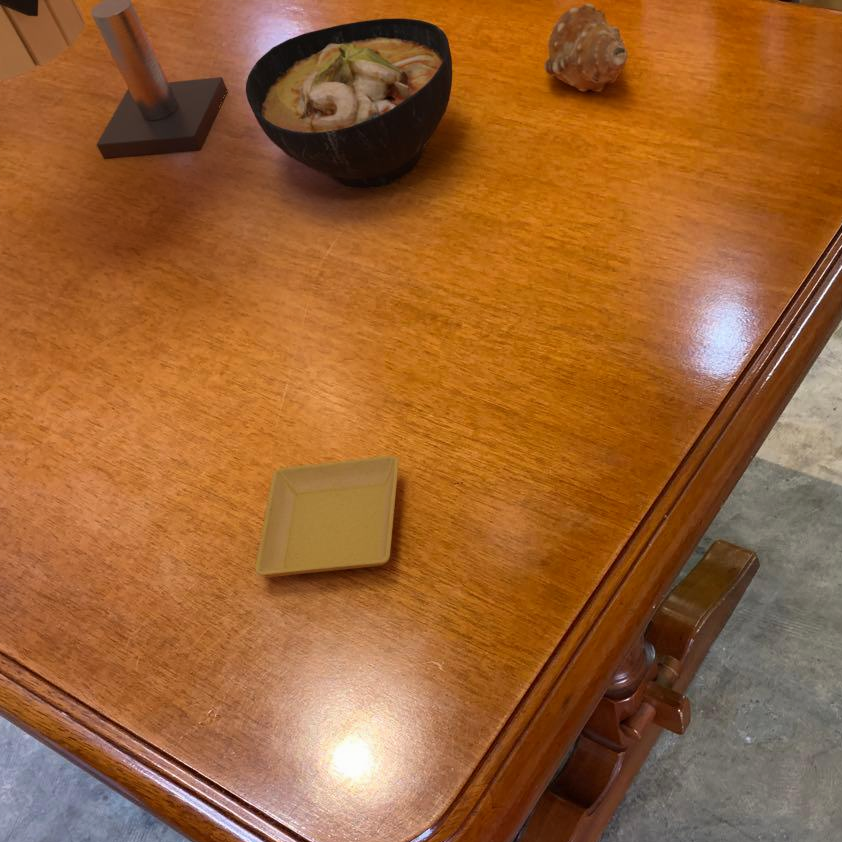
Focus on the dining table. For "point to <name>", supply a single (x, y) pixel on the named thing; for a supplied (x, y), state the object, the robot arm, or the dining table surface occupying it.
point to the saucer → (329, 517)
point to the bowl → (355, 97)
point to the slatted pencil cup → (37, 36)
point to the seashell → (585, 49)
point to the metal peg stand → (151, 93)
